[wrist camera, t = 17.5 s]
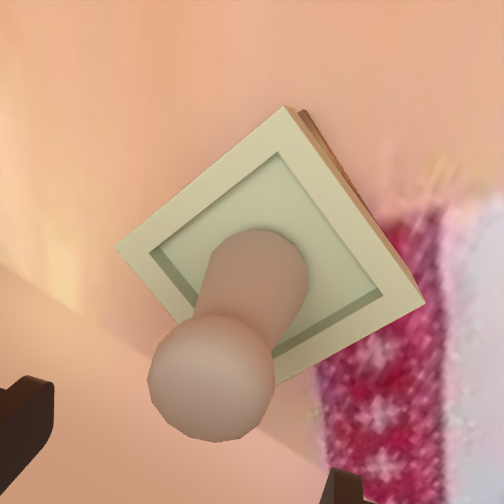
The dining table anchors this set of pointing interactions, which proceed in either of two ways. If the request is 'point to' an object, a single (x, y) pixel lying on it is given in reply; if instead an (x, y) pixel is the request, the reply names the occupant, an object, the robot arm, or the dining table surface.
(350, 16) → the dining table surface
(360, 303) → the top block
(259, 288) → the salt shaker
